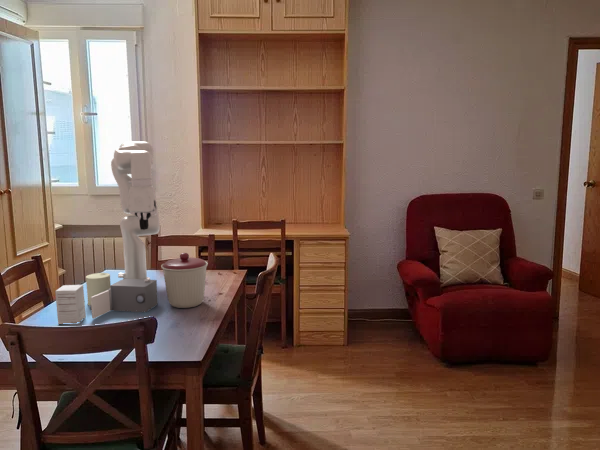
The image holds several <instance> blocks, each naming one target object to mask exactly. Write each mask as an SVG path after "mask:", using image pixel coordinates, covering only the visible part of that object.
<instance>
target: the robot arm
mask: <svg viewBox="0 0 600 450" xmlns="http://www.w3.org/2000/svg"><path fill="white" fill-rule="evenodd" d="M153 159H154V149H153V146H152V144H151V143H150V142H148V141H125V142H123V143H121V145H120V146H119V147H118V148H116V149H115V150H114V152H113V158H112V160H111V161H110V166H111V167H110V168H111V172H112V176H113V178H114V180H115V182H116V183H117V186H118V190H119V200H120V206H121V210H122V212H123V213H124V214H127V215H126V216H124V217H122V218H121V219H120V221H119V226H120V231H121V238H122V242H123V243H122V245H123V258H124V272H118V275H117V277H118V278H119V279H143V280H145V279H150V280H151V277H150V276H148V275H147V273H148V272H147V258H146V257H147V256H146V254H147V253H146V244H145V242H144V241H143V239H141V238H140V237H141V236H149V235H156V234H158V233H159V232H160V230H161V223H160V217H159V209H158V204H157V202H158V201H157V196H156V191H155V187H154V186H153V180H152V179H153V178H152V165H153ZM130 175H131V176H130Z"/></svg>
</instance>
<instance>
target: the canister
mask: <svg viewBox="0 0 600 450" xmlns="http://www.w3.org/2000/svg"><path fill="white" fill-rule="evenodd" d="M208 264H209V262H208V261H206V260H204V259H203V258H199V257H190V255H189V253H187V252H181V253H180V254H179V257H178V258H173V259H169V260H166V261H165V262H164V263H162V264H161V265H160V267H161V269H162V270H163V271H162V272H163V277H164V283H165V289H166V295H167V300H168V302H169V304H170V306H172V307H174V308H176V309H177V308H179V309H190V308H194V307H197V306H199V305H201V304H202V303H203V301H204V298H205V289H206V288H205V287H206V275H207V267H208Z"/></svg>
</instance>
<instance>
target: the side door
mask: <svg viewBox="0 0 600 450" xmlns="http://www.w3.org/2000/svg"><path fill="white" fill-rule="evenodd" d="M89 307H90V308H89V309H90V311H91V319H94V320H95V319H96V318H99V317H100V316H102V315H105V314H107V313H109V312H112V296H111V289H108V290H107V291H105V292H102V293H100V294H97V295H95V296H92V297H91V305H90V306H89Z"/></svg>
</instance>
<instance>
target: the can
mask: <svg viewBox="0 0 600 450" xmlns="http://www.w3.org/2000/svg"><path fill="white" fill-rule="evenodd" d="M85 280H86V281H85V282H86V293H87V295H86V296H87V306H88V305H89V306H88V307H90V305H91V297H92V296H95V295H97V294H100V293H102V292H105V291H107V290H108V289H111V286H110V285H112V283H111V274H110V273H108V272H95V273H90V274H88V275H86V276H85Z"/></svg>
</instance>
